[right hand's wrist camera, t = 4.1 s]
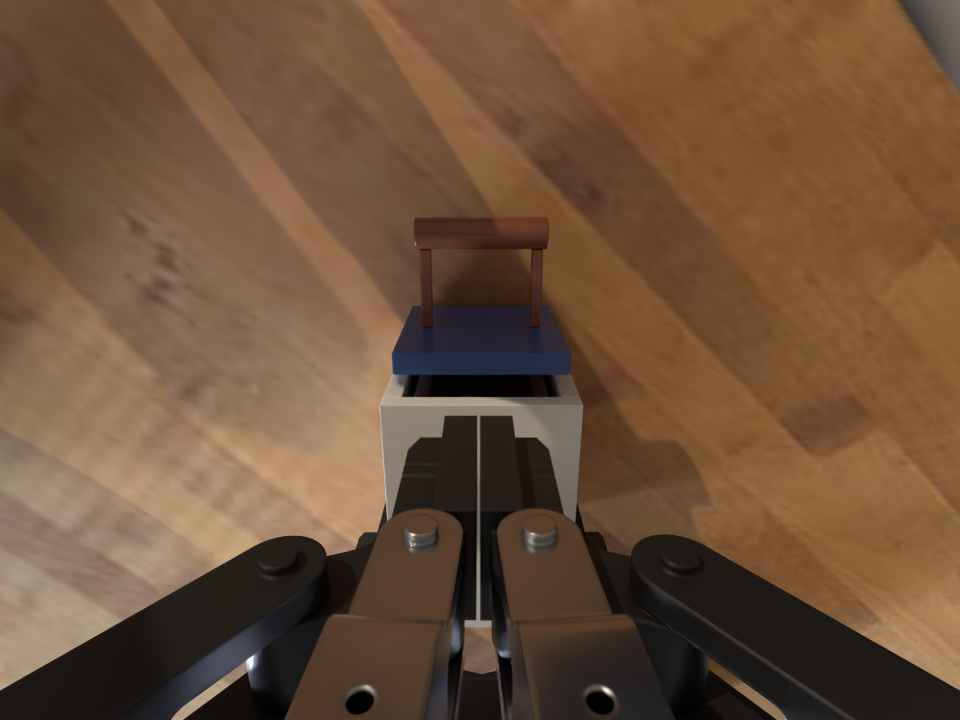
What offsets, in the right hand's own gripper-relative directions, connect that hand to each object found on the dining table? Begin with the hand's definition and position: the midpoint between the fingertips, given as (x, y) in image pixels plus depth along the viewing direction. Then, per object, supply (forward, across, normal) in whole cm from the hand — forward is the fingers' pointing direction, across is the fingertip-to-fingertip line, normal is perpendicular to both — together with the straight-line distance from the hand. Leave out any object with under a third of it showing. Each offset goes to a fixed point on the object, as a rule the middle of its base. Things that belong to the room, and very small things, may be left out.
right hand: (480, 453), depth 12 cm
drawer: (+25, 0, -7) cm, 26 cm away
